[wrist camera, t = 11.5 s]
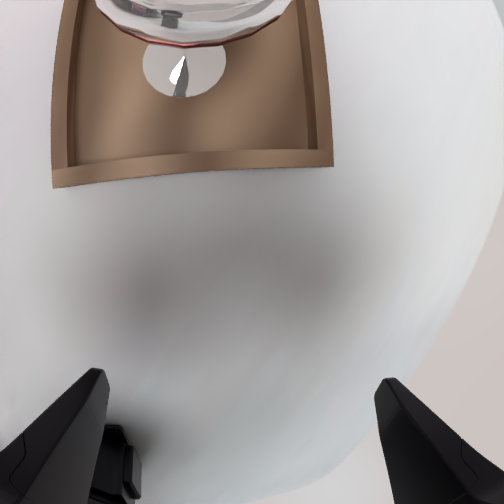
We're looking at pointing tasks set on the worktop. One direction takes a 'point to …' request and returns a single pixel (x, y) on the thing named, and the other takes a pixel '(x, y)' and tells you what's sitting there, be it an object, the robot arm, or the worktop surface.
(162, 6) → the wineglass
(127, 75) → the tray
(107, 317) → the worktop surface
